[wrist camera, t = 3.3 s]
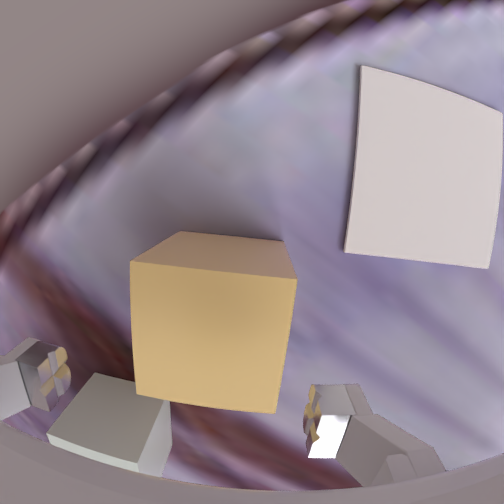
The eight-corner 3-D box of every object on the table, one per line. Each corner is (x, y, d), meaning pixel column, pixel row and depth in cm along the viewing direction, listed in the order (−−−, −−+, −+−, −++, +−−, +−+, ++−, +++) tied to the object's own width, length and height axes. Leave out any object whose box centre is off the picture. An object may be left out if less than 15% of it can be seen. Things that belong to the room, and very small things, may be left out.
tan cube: (271, 336, 21) (275, 413, 13) (176, 325, 21) (136, 394, 13) (283, 241, 20) (297, 279, 12) (180, 230, 20) (130, 260, 12)
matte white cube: (172, 443, 23) (149, 513, 16) (105, 427, 24) (70, 487, 16) (169, 388, 22) (137, 463, 14) (94, 372, 22) (46, 432, 14)
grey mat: (485, 267, 19) (488, 269, 19) (343, 251, 20) (344, 252, 19) (499, 113, 17) (502, 113, 17) (360, 67, 17) (361, 65, 17)
